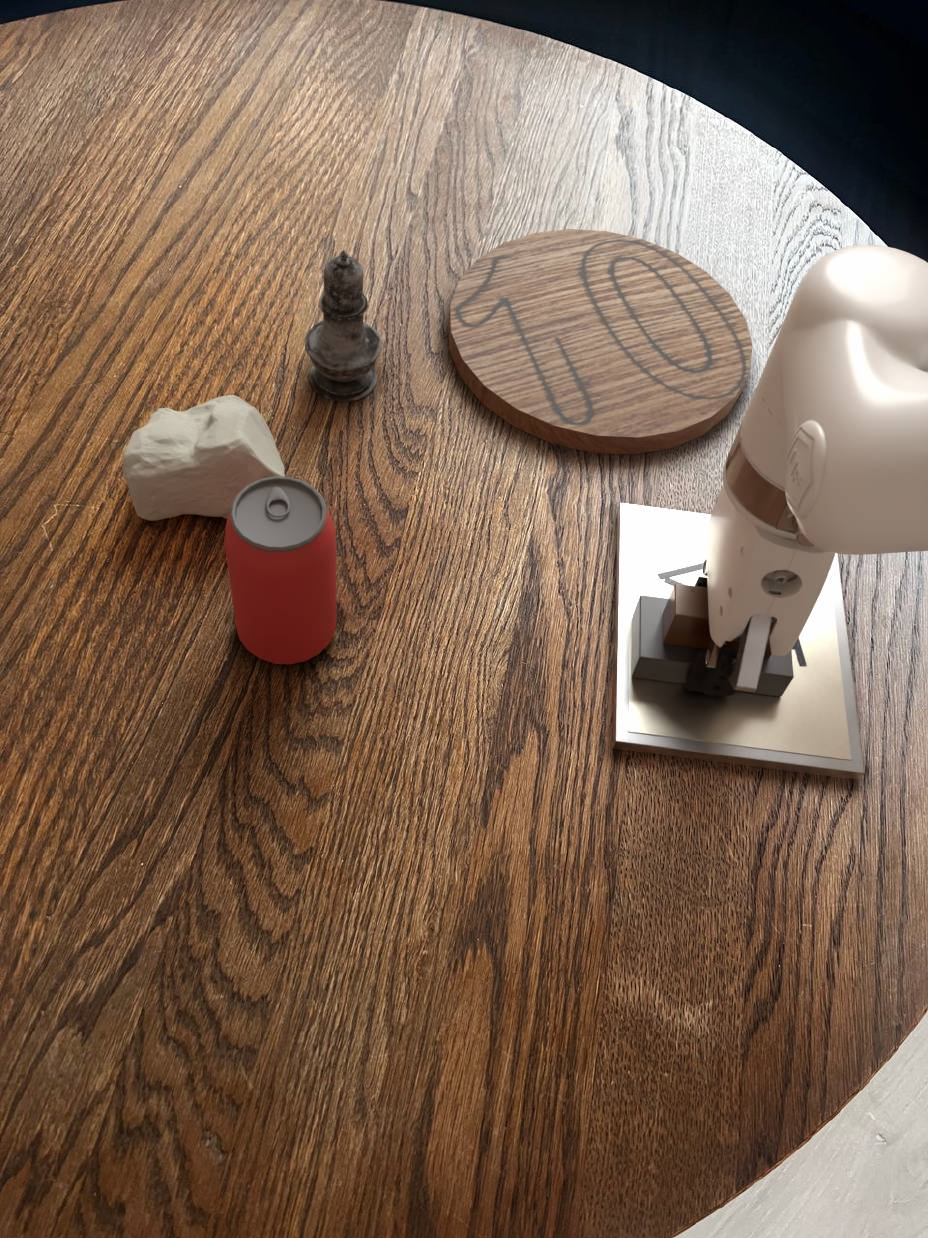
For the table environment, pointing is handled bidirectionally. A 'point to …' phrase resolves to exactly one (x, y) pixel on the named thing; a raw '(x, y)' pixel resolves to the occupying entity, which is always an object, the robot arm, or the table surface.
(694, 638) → the eraser
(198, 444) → the decorative stone
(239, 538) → the beer can
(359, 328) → the dark chess piece
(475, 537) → the table surface
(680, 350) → the trivet
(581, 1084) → the table surface
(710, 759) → the whiteboard
